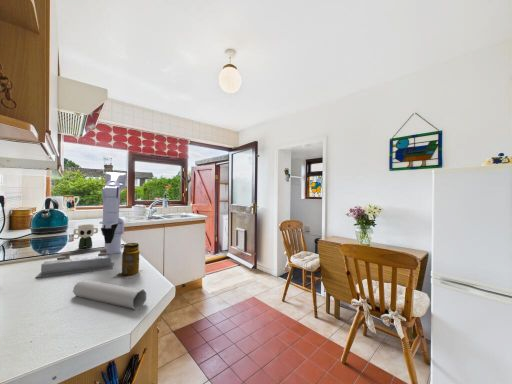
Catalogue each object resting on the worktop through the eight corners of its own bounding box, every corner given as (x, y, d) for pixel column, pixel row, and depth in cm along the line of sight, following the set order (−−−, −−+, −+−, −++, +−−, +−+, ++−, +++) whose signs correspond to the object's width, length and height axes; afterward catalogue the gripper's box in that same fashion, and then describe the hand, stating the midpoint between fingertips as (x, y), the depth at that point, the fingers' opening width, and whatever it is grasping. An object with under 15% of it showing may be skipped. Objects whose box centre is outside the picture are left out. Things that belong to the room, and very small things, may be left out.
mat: (43, 271, 86) (43, 270, 86) (114, 263, 98) (114, 262, 98) (35, 278, 79) (35, 277, 79) (112, 268, 91) (112, 267, 91)
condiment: (143, 270, 90) (144, 242, 90) (131, 278, 82) (132, 247, 82) (126, 270, 90) (127, 241, 91) (112, 277, 82) (113, 246, 82)
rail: (44, 271, 85) (45, 261, 85) (111, 263, 96) (111, 254, 96) (40, 274, 81) (41, 264, 81) (110, 266, 93) (110, 257, 93)
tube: (66, 286, 66) (130, 299, 59) (83, 274, 71) (144, 285, 64) (71, 300, 67) (134, 314, 60) (88, 288, 72) (148, 299, 65)
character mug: (72, 250, 116) (73, 226, 116) (73, 247, 122) (74, 224, 122) (97, 248, 122) (97, 225, 122) (97, 245, 128) (98, 223, 128)
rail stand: (57, 263, 96) (57, 253, 96) (110, 257, 106) (111, 248, 106) (50, 269, 88) (51, 258, 88) (109, 262, 98) (109, 253, 98)
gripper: (102, 210, 103) (101, 238, 103) (97, 214, 91) (96, 245, 91) (119, 210, 107) (118, 237, 107) (116, 213, 94) (115, 244, 94)
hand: (109, 241), depth 99 cm, fingers open, 7 cm apart
